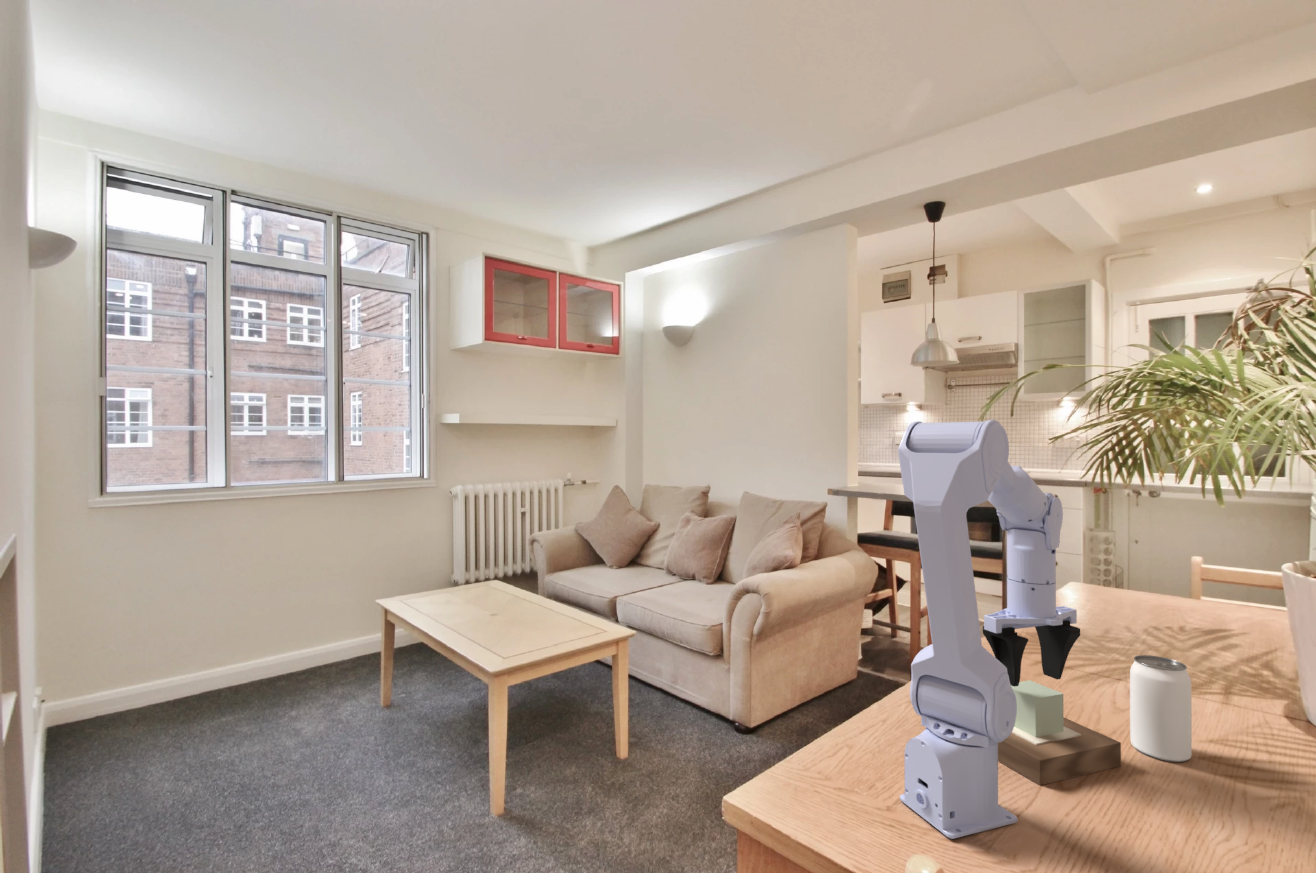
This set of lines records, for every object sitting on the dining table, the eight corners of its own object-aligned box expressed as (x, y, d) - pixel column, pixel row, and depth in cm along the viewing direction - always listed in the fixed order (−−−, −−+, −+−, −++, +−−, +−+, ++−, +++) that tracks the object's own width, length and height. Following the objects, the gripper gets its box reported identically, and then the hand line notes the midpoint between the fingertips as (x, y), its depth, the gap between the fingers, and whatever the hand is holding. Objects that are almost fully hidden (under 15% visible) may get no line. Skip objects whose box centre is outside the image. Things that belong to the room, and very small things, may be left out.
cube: (1035, 737, 81) (1035, 698, 82) (1002, 721, 86) (1002, 684, 86) (1063, 731, 83) (1063, 693, 83) (1029, 715, 88) (1029, 680, 88)
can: (1131, 735, 89) (1130, 650, 89) (1191, 749, 85) (1190, 661, 85) (1128, 753, 84) (1128, 663, 84) (1192, 769, 80) (1191, 674, 80)
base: (1039, 785, 76) (1039, 758, 76) (951, 734, 89) (951, 711, 89) (1120, 766, 80) (1120, 741, 80) (1025, 720, 94) (1025, 698, 94)
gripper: (1016, 590, 79) (1016, 698, 79) (1098, 582, 84) (1098, 684, 83) (971, 578, 86) (971, 678, 85) (1049, 572, 90) (1050, 666, 90)
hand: (1031, 680), depth 85 cm, fingers open, 7 cm apart
